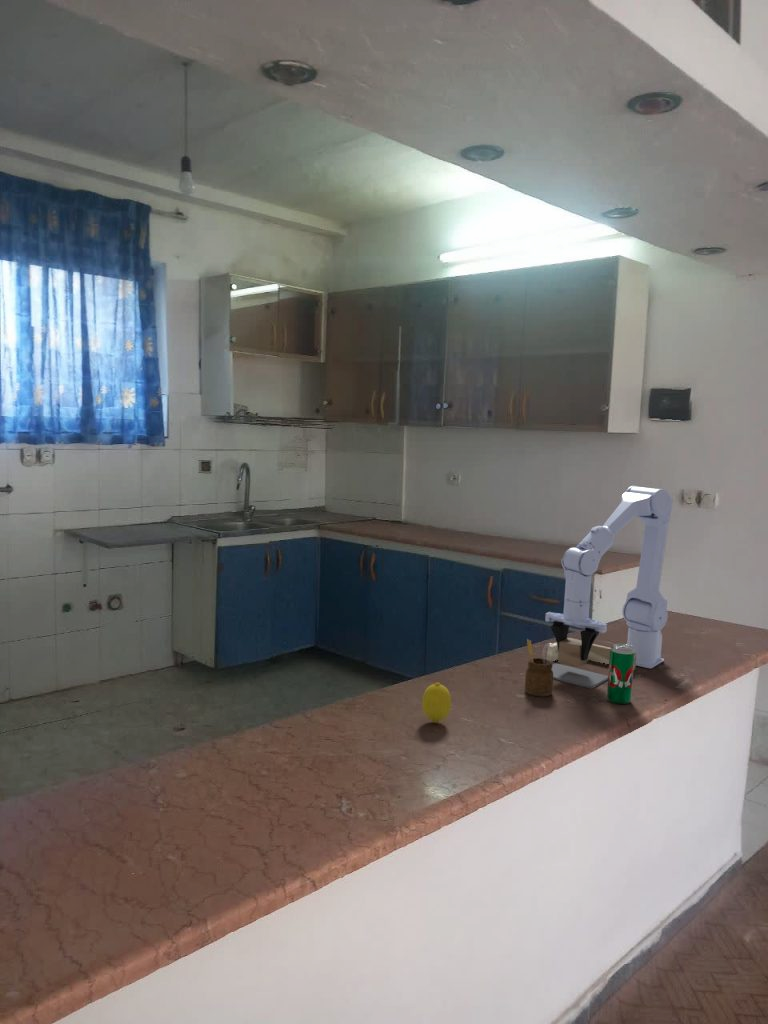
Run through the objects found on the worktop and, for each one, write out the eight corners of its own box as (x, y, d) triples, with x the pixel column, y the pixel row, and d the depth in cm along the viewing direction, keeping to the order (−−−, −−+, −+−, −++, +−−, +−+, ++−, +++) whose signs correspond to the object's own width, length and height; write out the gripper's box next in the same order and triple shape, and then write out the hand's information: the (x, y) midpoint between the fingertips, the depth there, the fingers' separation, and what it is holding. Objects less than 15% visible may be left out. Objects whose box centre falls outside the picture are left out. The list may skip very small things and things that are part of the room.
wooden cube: (567, 658, 185) (569, 637, 185) (587, 662, 182) (588, 642, 182) (557, 662, 181) (559, 641, 181) (577, 667, 178) (579, 646, 178)
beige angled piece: (565, 653, 200) (566, 637, 199) (635, 669, 188) (636, 653, 188) (546, 661, 192) (547, 645, 192) (618, 679, 181) (619, 662, 180)
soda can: (628, 697, 168) (632, 643, 167) (633, 706, 163) (637, 650, 162) (604, 695, 169) (608, 642, 167) (608, 704, 164) (613, 648, 162)
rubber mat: (551, 663, 190) (551, 661, 190) (609, 678, 181) (610, 676, 181) (531, 673, 182) (531, 671, 182) (591, 688, 173) (591, 686, 173)
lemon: (453, 720, 151) (456, 681, 150) (443, 730, 146) (446, 689, 145) (427, 715, 153) (429, 676, 152) (416, 724, 148) (418, 684, 147)
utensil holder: (557, 696, 168) (561, 641, 166) (532, 698, 165) (535, 643, 164) (543, 687, 173) (546, 634, 172) (518, 689, 171) (521, 636, 170)
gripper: (540, 596, 182) (537, 653, 183) (599, 608, 172) (595, 667, 174) (554, 592, 187) (550, 647, 189) (612, 603, 178) (608, 660, 180)
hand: (573, 656), depth 182 cm, fingers closed on wooden cube, 5 cm apart
